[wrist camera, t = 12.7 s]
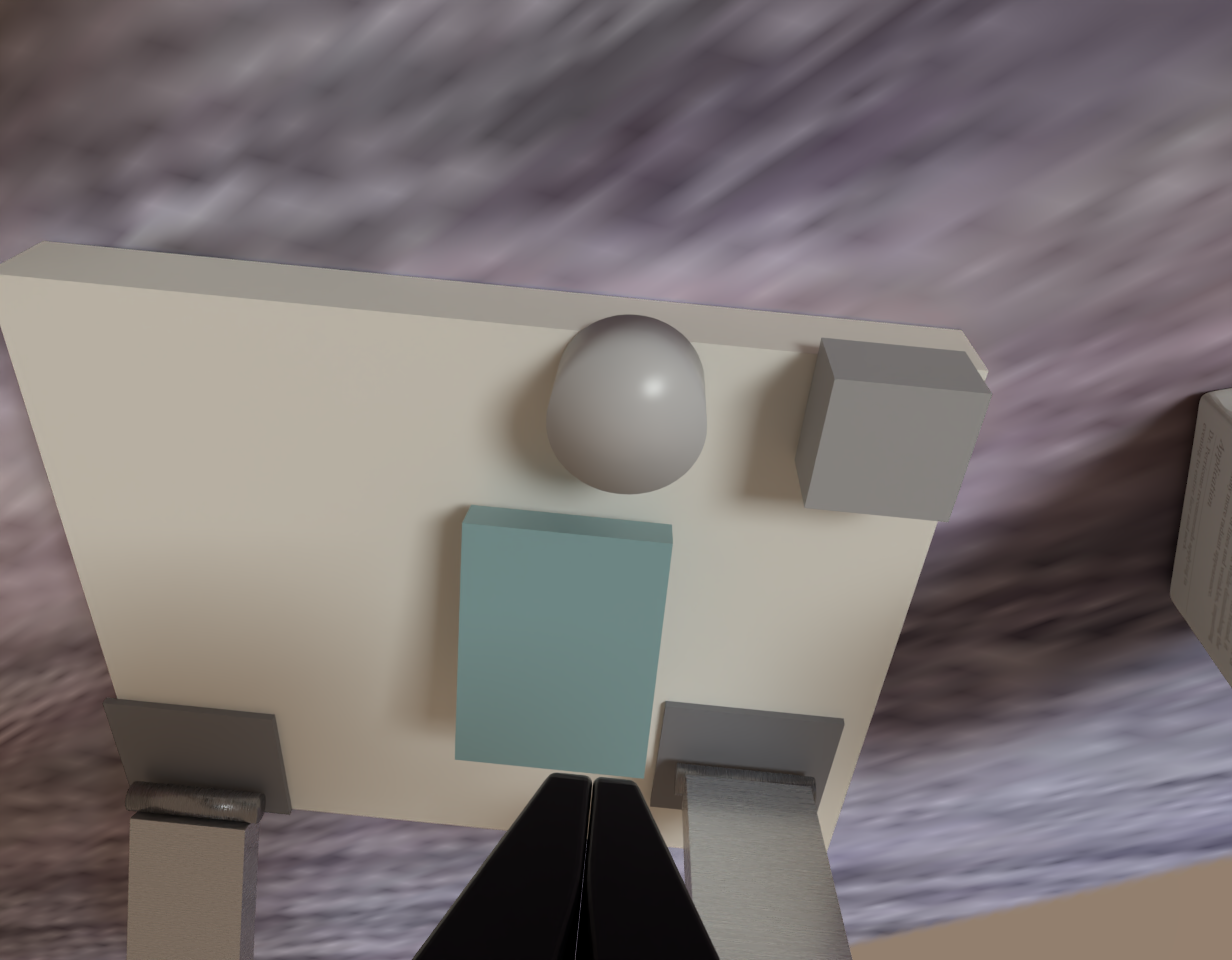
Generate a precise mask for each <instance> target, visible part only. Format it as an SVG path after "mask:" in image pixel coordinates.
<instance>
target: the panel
mask: <svg viewBox="0 0 1232 960" xmlns="http://www.w3.org/2000/svg"><path fill="white" fill-rule="evenodd" d="M625 314H631V315H642V316H648V317H651V318H655V319H658V320H660V321H663V322H665V323H667V324H669V325H670V326H672V327H674V328H675V329H676V330H678V331H679V332H680V333H682V334H683V335H684V336H685V337H686V338H687V339H688V340H689V342H690V343H691V344H692V346H693V347H694V348H695V350H696V352H697V354H698V355H699V358H700V360H701V363H702V366H703V371H704V378H705V395H706V414H707V435H706V439H705V444H704V446H703V449H702V452H701V454H700V455H699V457H698V459H697V461H696V462H695V463H694V465H693V466H692V467H691V468H690V469H689V470H688V471H687V472H686V473H685V474H684V475H683V476H682V477H681V478H679V479H678V480H677V481H675V482H673V483H671V484H670V485H668V486H666V487H663V488H661V489H659V490H655V491H652V492H648V493H642V494H631V495H627V494H615V493H609V492H605V491H602V490H599V489H596V488H594V487H591V486H589V485H587V484H585V483H583V482H582V481H580V480H579V479H577V478H576V477H574V476H573V475H572V474H571V473H570V472H569V471H567V470H566V469H565V467H564V466H563V465H562V464H561V463H560V462H559V460H558V459H557V457H556V456H555V454H554V452H553V450H552V448H551V445H550V443H549V440H548V435H547V430H546V415H547V409H548V405H549V401H550V397H551V393H552V389H553V385H554V382H555V378H556V374H557V370H558V366H559V363H560V359H561V357H562V355H563V352H564V350H565V349H566V347H567V346H568V344H569V343H570V342H571V340H572V339H573V338H574V337H575V336H576V335H577V334H578V333H579V332H580V331H581V330H583V329H584V328H586V327H587V326H589V325H590V324H592V323H594V322H596V321H598V320H601V319H604V318H607V317H611V316H616V315H625ZM0 326H1V329H2V332H3V336H4V339H5V342H6V345H7V348H8V352H9V355H10V358H11V361H12V364H13V367H14V371H15V374H16V377H17V380H18V383H19V387H20V390H21V393H22V396H23V399H24V403H25V406H26V409H27V412H28V415H29V418H30V422H31V425H32V428H33V431H34V434H35V438H36V441H37V444H38V447H39V450H40V454H41V457H42V460H43V463H44V466H45V470H46V473H47V476H48V479H49V482H50V485H51V489H52V492H53V495H54V498H55V501H56V505H57V508H58V511H59V514H60V517H61V521H62V524H63V527H64V530H65V533H66V536H67V540H68V543H69V546H70V549H71V552H72V556H73V559H74V562H75V565H76V568H77V572H78V575H79V578H80V581H81V584H82V588H83V591H84V594H85V597H86V600H87V603H88V607H89V610H90V613H91V616H92V619H93V623H94V626H95V629H96V632H97V635H98V639H99V642H100V645H101V648H102V651H103V654H104V658H105V661H106V664H107V667H108V670H109V674H110V677H111V680H112V683H113V686H114V690H115V693H116V696H117V699H116V698H106V699H105V700H104V702H103V706H104V709H105V712H106V716H107V719H108V722H109V725H110V728H111V731H112V734H113V737H114V740H115V743H116V746H117V749H118V752H119V755H120V758H121V761H122V764H123V767H124V770H125V774H126V777H127V780H128V783H129V786H131V784H132V783H133V782H134V781H145V782H155V783H165V784H175V785H185V786H195V787H204V788H214V789H224V790H234V791H244V792H254V793H264V794H265V796H266V805H265V810H264V812H269V813H278V814H288V815H290V813H291V810H292V809H298V810H308V811H318V812H328V813H338V814H348V815H358V816H368V817H378V818H388V819H397V820H407V821H417V822H427V823H437V824H447V825H457V826H467V827H477V828H487V829H496V830H506V831H507V830H508V829H509V828H510V826H511V825H512V824H513V822H514V821H515V820H516V818H517V817H518V816H519V814H520V813H521V812H522V810H523V809H524V807H525V806H526V805H527V803H528V802H529V801H530V799H531V798H532V797H533V795H534V794H535V793H536V791H537V790H538V789H539V787H540V786H541V784H542V783H543V782H544V780H545V779H546V778H547V777H548V776H549V775H550V774H552V773H557V772H558V773H568V774H577V775H586V776H588V777H589V778H591V780H592V788H593V783H594V781H595V779H597V778H599V777H607V778H616V779H626V780H632V781H634V782H635V783H637V785H638V787H639V788H640V790H641V792H642V794H643V796H644V798H645V801H646V803H647V805H648V807H649V809H650V811H651V813H652V815H653V818H654V820H655V822H656V824H657V826H658V828H659V830H660V833H661V835H662V837H663V839H664V841H665V843H666V845H667V847H675V848H683V823H682V801H683V796H680V795H675V794H674V782H675V770H676V764H677V763H682V764H691V765H701V766H711V767H721V768H731V769H741V770H751V771H761V772H771V773H781V774H791V775H801V776H811V777H814V778H815V781H816V802H815V806H816V811H817V815H818V819H819V823H820V827H821V831H822V836H823V840H824V844H825V848H826V852H827V850H828V847H829V844H830V841H831V838H832V835H833V832H834V829H835V826H836V823H837V820H838V817H839V814H840V811H841V808H842V805H843V802H844V799H845V796H846V793H847V790H848V787H849V784H850V781H851V778H852V775H853V772H854V769H855V766H856V763H857V760H858V757H859V754H860V751H861V748H862V745H863V742H864V740H865V737H866V734H867V731H868V728H869V725H870V722H871V719H872V716H873V713H874V710H875V707H876V704H877V701H878V698H879V695H880V692H881V689H882V686H883V683H884V680H885V677H886V674H887V671H888V668H889V665H890V662H891V659H892V656H893V653H894V650H895V647H896V644H897V641H898V638H899V635H900V632H901V629H902V626H903V623H904V620H905V617H906V614H907V612H908V609H909V606H910V603H911V600H912V597H913V594H914V591H915V588H916V585H917V582H918V579H919V576H920V573H921V570H922V567H923V564H924V561H925V558H926V555H927V552H928V549H929V546H930V543H931V540H932V537H933V534H934V531H935V528H936V525H937V522H938V521H931V520H920V519H910V518H900V517H890V516H880V515H870V514H859V513H849V512H839V511H829V510H819V509H809V508H804V503H803V499H802V494H801V489H800V484H799V479H798V474H797V470H796V465H795V455H796V451H797V446H798V442H799V437H800V432H801V428H802V423H803V419H804V414H805V410H806V405H807V401H808V396H809V391H810V387H811V382H812V378H813V373H814V369H815V364H816V360H817V355H818V351H819V346H820V341H821V338H832V339H842V340H852V341H863V342H873V343H883V344H893V345H904V346H914V347H924V348H934V349H945V350H955V351H965V352H966V354H967V355H968V357H969V358H970V360H971V361H972V363H973V365H974V366H975V368H976V369H977V371H978V372H979V374H980V376H981V377H982V379H983V380H984V382H985V379H986V376H987V373H988V370H987V368H986V367H985V365H984V363H983V362H982V360H981V359H980V357H979V356H978V354H977V353H976V351H975V350H974V348H973V347H972V345H971V344H970V342H969V341H968V339H967V338H966V336H965V335H964V333H963V332H962V330H953V329H943V328H933V327H923V326H912V325H902V324H892V323H881V322H871V321H861V320H851V319H840V318H830V317H820V316H809V315H799V314H789V313H779V312H768V311H758V310H748V309H737V308H727V307H717V306H707V305H696V304H686V303H676V302H665V301H655V300H645V299H635V298H624V297H614V296H604V295H593V294H583V293H573V292H563V291H552V290H542V289H532V288H521V287H511V286H501V285H491V284H480V283H470V282H460V281H449V280H439V279H429V278H419V277H408V276H398V275H388V274H377V273H367V272H357V271H347V270H336V269H326V268H316V267H305V266H295V265H285V264H275V263H264V262H254V261H244V260H233V259H223V258H213V257H203V256H192V255H182V254H172V253H161V252H151V251H141V250H131V249H120V248H110V247H100V246H89V245H79V244H69V243H59V242H48V241H43V242H41V243H39V244H37V245H35V246H33V247H31V248H29V249H28V250H26V251H24V252H22V253H20V254H18V255H16V256H15V257H13V258H11V259H9V260H7V261H5V262H3V263H1V264H0ZM471 505H478V506H489V507H499V508H509V509H519V510H529V511H539V512H549V513H559V514H570V515H580V516H590V517H600V518H610V519H620V520H630V521H640V522H651V523H661V524H671V525H672V535H673V547H672V555H671V563H670V571H669V579H668V587H667V595H666V603H665V612H664V620H663V628H662V636H661V644H660V652H659V660H658V668H657V676H656V684H655V692H654V701H653V709H652V717H651V725H650V733H649V741H648V749H647V757H646V765H645V773H644V779H642V778H632V777H622V776H612V775H602V774H592V773H582V772H572V771H562V770H552V769H542V768H532V767H522V766H512V765H503V764H493V763H483V762H473V761H463V760H455V734H456V702H457V670H458V638H459V606H460V575H461V543H462V522H463V520H464V518H465V516H466V514H467V512H468V510H469V508H470V506H471ZM591 798H592V793H591ZM590 808H591V803H590ZM589 818H590V813H589ZM588 828H589V824H588ZM587 838H588V834H587Z"/></svg>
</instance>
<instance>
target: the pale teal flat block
mask: <svg viewBox="0 0 1232 960" xmlns="http://www.w3.org/2000/svg"><path fill="white" fill-rule="evenodd" d="M672 547H673V535H672V525H671V524H661V523H651V522H640V521H630V520H620V519H610V518H600V517H590V516H580V515H570V514H559V513H549V512H539V511H529V510H519V509H509V508H499V507H489V506H478V505H471V506H470V508H469V510H468V512H467V514H466V516H465V518H464V520H463V522H462V543H461V575H460V606H459V638H458V670H457V702H456V734H455V760H463V761H473V762H483V763H493V764H503V765H512V766H522V767H532V768H542V769H552V770H562V771H572V772H582V773H592V774H602V775H612V776H622V777H632V778H642V779H644V773H645V765H646V757H647V749H648V741H649V733H650V725H651V717H652V709H653V701H654V692H655V684H656V676H657V668H658V660H659V652H660V644H661V636H662V628H663V620H664V612H665V603H666V595H667V587H668V579H669V571H670V563H671V555H672Z"/></svg>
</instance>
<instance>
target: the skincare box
mask: <svg viewBox="0 0 1232 960" xmlns="http://www.w3.org/2000/svg"><path fill="white" fill-rule="evenodd" d="M1170 597H1171V600H1172V601H1173V603H1174V604H1175V606H1176V607H1177V609H1178V611H1179V612H1180V613H1181V615H1182V616H1183V617H1184V619H1185V620H1186V622H1187V623H1188V625H1189V626H1190V628H1191V629H1192V631H1193V632H1194V634H1195V635H1196V637H1197V638H1198V640H1199V641H1200V642H1201V644H1202V645H1203V647H1204V648H1205V650H1206V651H1207V653H1208V654H1209V656H1210V657H1211V659H1212V660H1213V662H1214V663H1215V664H1216V666H1217V667H1218V669H1219V670H1220V672H1221V673H1222V675H1223V676H1224V677H1225V679H1226V680H1227V682H1228V683H1229V685H1230V686H1231V688H1232V388H1229V389H1223V390H1218V391H1213V392H1208V393H1206V394H1204V395H1203V396H1202V397H1201V399H1200V402H1199V408H1198V415H1197V422H1196V429H1195V435H1194V442H1193V448H1192V455H1191V461H1190V467H1189V473H1188V480H1187V486H1186V492H1185V498H1184V505H1183V511H1182V517H1181V524H1180V530H1179V536H1178V542H1177V549H1176V555H1175V561H1174V568H1173V575H1172V581H1171V588H1170Z"/></svg>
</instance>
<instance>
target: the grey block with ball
mask: <svg viewBox="0 0 1232 960" xmlns="http://www.w3.org/2000/svg"><path fill="white" fill-rule="evenodd" d="M265 805H266V796H265V794H264V793H254V792H244V791H234V790H224V789H214V788H204V787H195V786H185V785H175V784H165V783H155V782H145V781H134V782H133V783H132V784H131V786H130V787H129V789H128V792H127V795H126V799H125V806H126V809H127V810H128V811H137V813H136V814H134V815H133V816H132V817H131V818H130V841H129V884H128V927H127V960H253V952H254V930H255V907H256V885H257V862H258V840H259V822H260V820H261V818H262V816H263V814H264V810H265Z"/></svg>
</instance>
